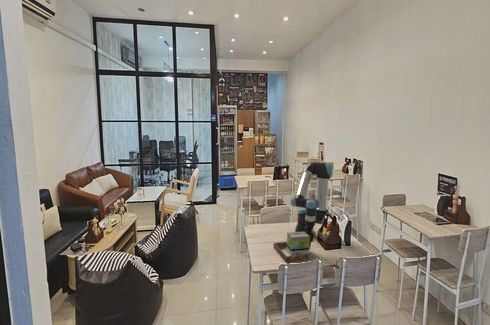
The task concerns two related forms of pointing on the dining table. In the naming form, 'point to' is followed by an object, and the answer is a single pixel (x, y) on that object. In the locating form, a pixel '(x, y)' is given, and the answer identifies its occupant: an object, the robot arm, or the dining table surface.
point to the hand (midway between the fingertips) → (308, 249)
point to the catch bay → (289, 258)
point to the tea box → (298, 243)
